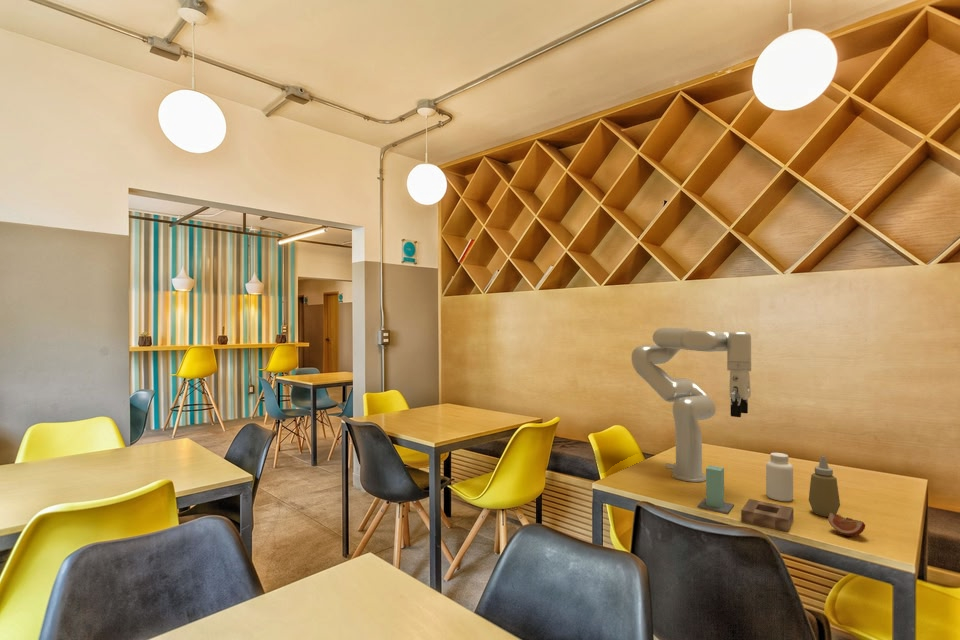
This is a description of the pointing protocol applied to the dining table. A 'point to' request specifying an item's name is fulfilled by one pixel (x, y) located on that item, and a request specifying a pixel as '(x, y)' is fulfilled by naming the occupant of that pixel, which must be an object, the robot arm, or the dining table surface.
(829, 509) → the squeeze bottle
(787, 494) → the pill bottle
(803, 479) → the dining table surface
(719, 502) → the teal block
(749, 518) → the pocket base
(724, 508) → the rubber mat
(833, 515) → the fruit slice
